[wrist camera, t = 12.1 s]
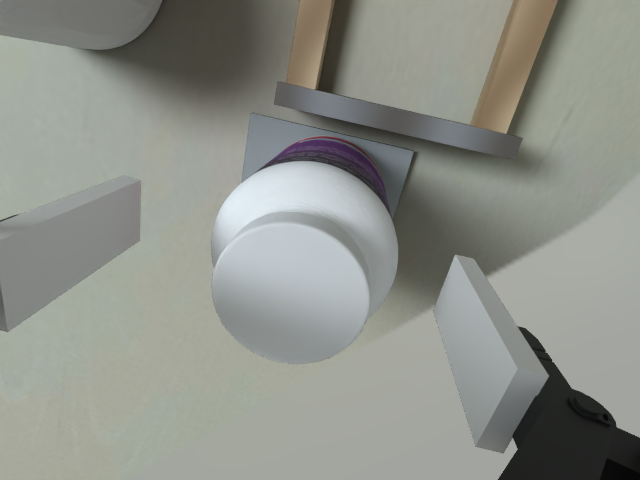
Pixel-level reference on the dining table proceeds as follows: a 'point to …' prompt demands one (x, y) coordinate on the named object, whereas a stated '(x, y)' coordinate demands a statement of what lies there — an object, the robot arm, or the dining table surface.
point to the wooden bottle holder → (481, 135)
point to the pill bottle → (304, 252)
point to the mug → (77, 21)
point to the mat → (279, 134)
